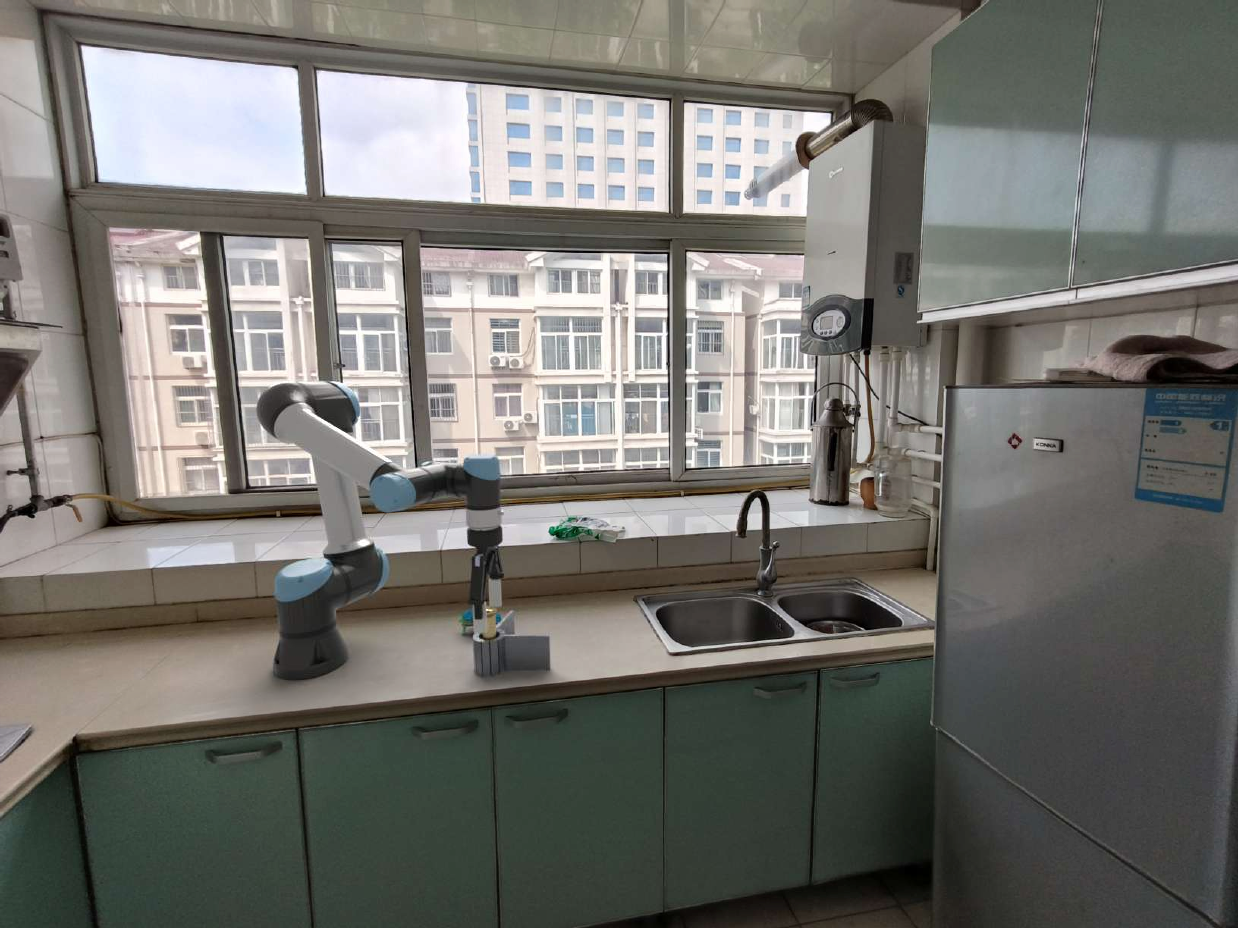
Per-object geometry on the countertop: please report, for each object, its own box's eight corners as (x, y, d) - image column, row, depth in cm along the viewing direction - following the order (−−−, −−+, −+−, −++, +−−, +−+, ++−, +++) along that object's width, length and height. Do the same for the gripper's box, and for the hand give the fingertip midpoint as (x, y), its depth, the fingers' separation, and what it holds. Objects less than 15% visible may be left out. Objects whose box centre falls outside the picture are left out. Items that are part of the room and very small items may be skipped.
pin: (480, 672, 128) (477, 612, 126) (484, 664, 132) (481, 605, 130) (497, 672, 128) (494, 612, 126) (501, 664, 132) (498, 605, 130)
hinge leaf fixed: (471, 676, 126) (469, 642, 125) (479, 660, 133) (477, 628, 132) (548, 676, 126) (547, 642, 125) (552, 661, 133) (551, 628, 132)
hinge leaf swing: (499, 660, 133) (497, 627, 132) (495, 660, 134) (494, 627, 132) (514, 640, 143) (513, 610, 142) (511, 640, 143) (510, 610, 142)
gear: (507, 619, 152) (493, 604, 144) (505, 641, 148) (489, 627, 140) (469, 622, 154) (452, 608, 146) (465, 644, 150) (448, 630, 142)
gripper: (487, 542, 112) (491, 644, 116) (513, 512, 137) (516, 596, 140) (449, 542, 112) (454, 644, 116) (482, 512, 137) (485, 596, 140)
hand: (488, 618), depth 128 cm, fingers open, 13 cm apart
